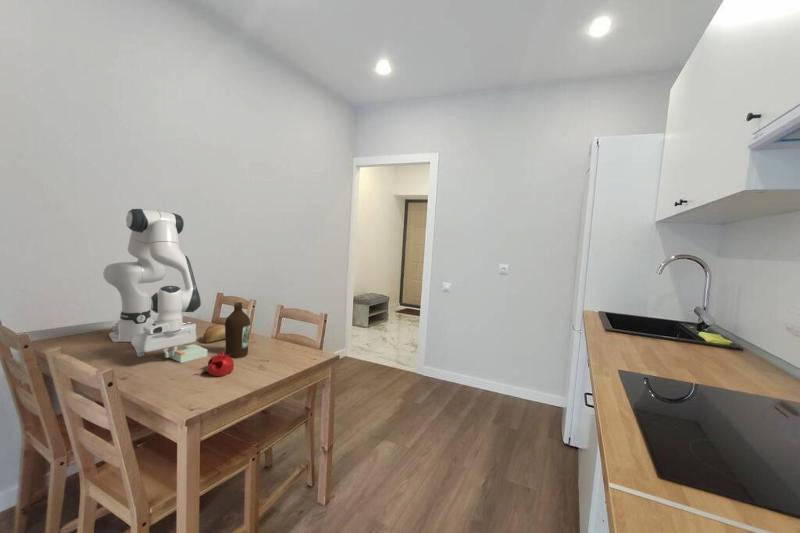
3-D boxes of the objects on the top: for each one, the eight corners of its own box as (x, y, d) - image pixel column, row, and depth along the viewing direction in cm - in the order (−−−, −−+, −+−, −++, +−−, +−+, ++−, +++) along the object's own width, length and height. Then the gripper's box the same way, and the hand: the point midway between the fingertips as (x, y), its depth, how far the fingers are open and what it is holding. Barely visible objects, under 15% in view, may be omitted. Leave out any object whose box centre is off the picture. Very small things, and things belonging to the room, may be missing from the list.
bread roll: (197, 342, 172) (197, 326, 171) (223, 335, 186) (223, 321, 185) (210, 345, 168) (210, 330, 168) (235, 338, 182) (236, 324, 181)
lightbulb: (129, 361, 142) (129, 336, 141) (133, 356, 148) (133, 332, 147) (147, 360, 145) (148, 335, 144) (150, 355, 151) (151, 331, 150)
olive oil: (219, 358, 153) (221, 304, 151) (230, 350, 163) (232, 299, 161) (243, 359, 153) (245, 305, 151) (252, 351, 164) (254, 301, 162)
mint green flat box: (168, 356, 147) (168, 347, 147) (194, 350, 156) (194, 342, 156) (180, 362, 141) (180, 353, 141) (207, 356, 151) (207, 347, 150)
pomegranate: (224, 367, 144) (225, 345, 143) (239, 372, 139) (239, 350, 138) (201, 373, 135) (201, 351, 135) (215, 380, 130) (216, 356, 130)
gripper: (192, 319, 152) (191, 349, 153) (138, 327, 135) (138, 361, 136) (199, 322, 149) (199, 352, 150) (145, 331, 131) (145, 365, 132)
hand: (169, 356), depth 143 cm, fingers closed
